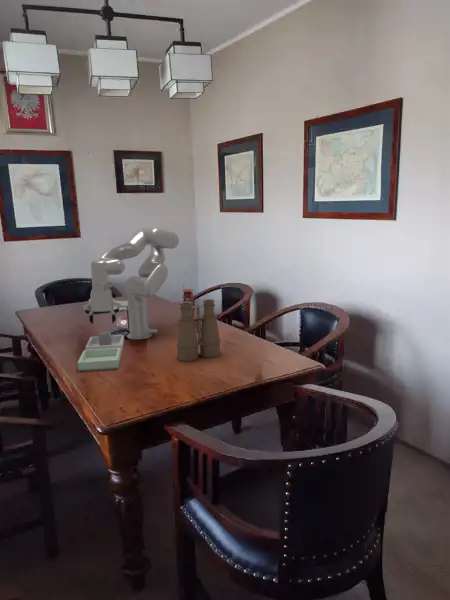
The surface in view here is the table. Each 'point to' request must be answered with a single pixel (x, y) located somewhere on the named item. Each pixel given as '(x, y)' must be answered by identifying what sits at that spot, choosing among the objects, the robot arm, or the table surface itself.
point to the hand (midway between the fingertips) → (102, 322)
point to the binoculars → (208, 330)
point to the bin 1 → (94, 344)
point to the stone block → (105, 338)
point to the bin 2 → (99, 359)
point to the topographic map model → (122, 303)
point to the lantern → (189, 295)
